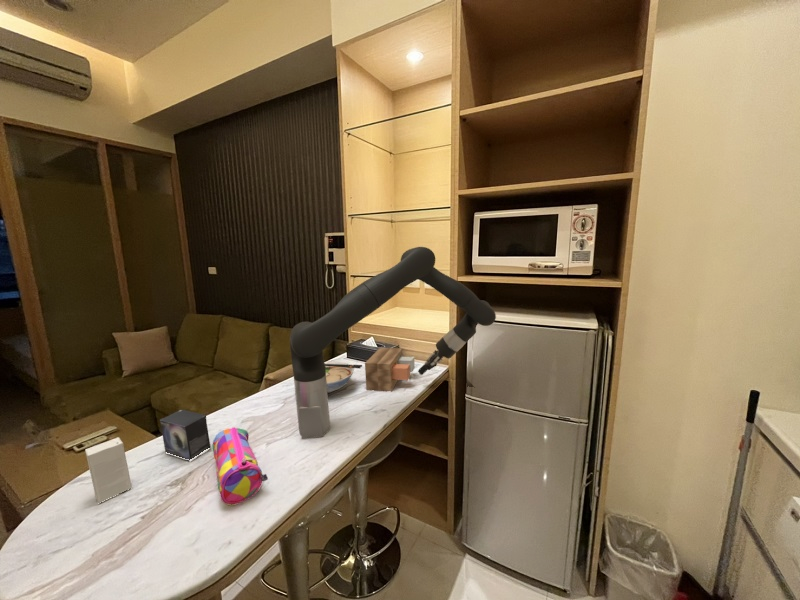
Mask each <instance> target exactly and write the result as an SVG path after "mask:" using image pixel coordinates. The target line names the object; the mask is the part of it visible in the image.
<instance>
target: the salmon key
mask: <svg viewBox="0 0 800 600" xmlns="http://www.w3.org/2000/svg"><path fill="white" fill-rule="evenodd" d="M410 377H411V372H410V364H394V365H393V367H392V379H397V380H398V381H406V382H408V381H409V379H410Z"/></svg>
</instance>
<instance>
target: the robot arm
mask: <svg viewBox="0 0 800 600" xmlns="http://www.w3.org/2000/svg"><path fill="white" fill-rule="evenodd" d="M435 264H436V255H435V253H434V251H432V249H430V248H429V247H425V246H416V247H413V248H409V249H407V250H405V252H403V253H402V254H401V257H400V261H399V262H398V263H397V264H395V265H393V266H392V267H391V268H388V269H386V270H384V271H383V272H382V271H381V272H380V273H378V274H376V275H374V276H372V277H370V278H368V279H366V280H364V281H363V282H361V283H360V284H359V285H357V286H355V287H354V288H352V289H351V290H350V291H349V292H347V293H346V294H345V295H344V296H343V297H342V298H341V300H339V302H338V303H337V304H336V305H335V306H334V307H333V308H332V309H331V310H330V311H328V313H326V314H325V315H323V316H321V317H320V318H318V319H317V320H314V321H313V322H310V321H302V322H301V321H300V322H299V323H297V324H295V325H294V326H293V328H292V329H291V331H290V333H289V347H290V357H291V366H292V367H291V368H292V374H293V381H294V392H295V393H294V394H295V405H296V415H297V424H298V434H299V435H300V436H301V439H303V440H304V439H312V438H313V439H314V438H322V437H324V436H325V435H326V433H328V431H329V430H330V429H331V421H330V411H329V409H330V408H329V397H328V396H329V395H328V394H329V393H327V381H326V368H325V363H326V362H325V358H324V353H323V352H324V349H326V348H327V347H328V346H329V345H330V344H331V343H332V342H334V340H336V339H337V338H338V337H339V336H341V335H342V334H343V333H345V332H346V331H347V330H349V329H350V328H352V327H353V326H355V325H356V324H357V323H360V322H361V321H362V320H363V319H365V318H366V317H368V316H370V315H371V314H372V313H374V312H375V311H377V309H379V308H380V307H382V306H383V305H385V303H387V302H388V301H390V300H391V299H392V298H394V296H396V295H397V294H398V293H400V291H402V290H403V289H405V288H406V287H408V286H410V284H412V283H413V282H415V281H417V280H419V281H421V282H422V283H424V284H426V285H428V286H430V287H431V288H432V289H434V290H436V291H437V292H439V293H440V294H441V295H442V296H443V297H445V298H447V299H448V300H449V301H450V302H452V303H453V304H455V305H456V306H457V307H458V308H460V309H462V311H464V312H465V314H464V315H463V317H462V319H461V320H460V321H458V322H457V324H456V325H455V326H454V327H453V328H451V329H450V330H449V331H448V332H447V333H445V334H444V335H443V336H442V337H441V338H440V339H439V340H438V341H437V342H436V343H435V347H436V349H437V350H434V351H433V352H432V353H431V355H430V356H428V359H426V361H425V362H424V364H423V365H422V366H421V367H420V368H419V369H418V370H417V372H418V374H420V376H422V375H424V374H425V373H426V372H427V371H430V370H432V369H433V368H435V367H436V366H437V365H438V364H439V363H441V362H442V361H443V358H445V359H451V358H452V357H453V356H454V355H456V353H458V352H459V350H461V349H462V348H463V347H464V345H466V343H467V342H468V341H469V340H471V338H473V337H474V335H475V334H476V333H477V326H478V325H481V326H483V327H484V326H485V327H488V326H491V325H493V324H494V322H495V321H496V318H497V315H496V312H495V310H494V309H493V308H492V306H491V305H490V303H489V302H488V301H487V300H481V299H480V298H479V297H478V296H477V295H476V294H475V293H474V292H473V291H472V290H471V289H470V288H468V287H467V286H466V285H464V284H463V283H462V282H460V281H459V280H456V279H454V278H452V277H450V276H448V275H447V274H445V273H443V272H442V271H440V270H439V269H437V268H436V267H435Z"/></svg>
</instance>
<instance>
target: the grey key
mask: <svg viewBox="0 0 800 600" xmlns="http://www.w3.org/2000/svg"><path fill="white" fill-rule="evenodd" d="M398 364H410V373H413V371H414V370H415V367H416V366H415V356H402V357H399V358H398Z"/></svg>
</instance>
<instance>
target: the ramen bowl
mask: <svg viewBox="0 0 800 600" xmlns="http://www.w3.org/2000/svg"><path fill="white" fill-rule="evenodd" d="M324 363H325V368H326V381H327V394H330V393H333V392H334V391H337V390H339V389H341V388H343V387H344V386H345V385H347V383H348V382H349V381H350V379H351V377H352V376H353V373H354V372H355V371H354V370H355V369H361V368H362V367H363V365H362V364H349V363H346V362H339V361H338V362H337V361H333V362H332V361H331V362H330V361H329V362H324Z"/></svg>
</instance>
